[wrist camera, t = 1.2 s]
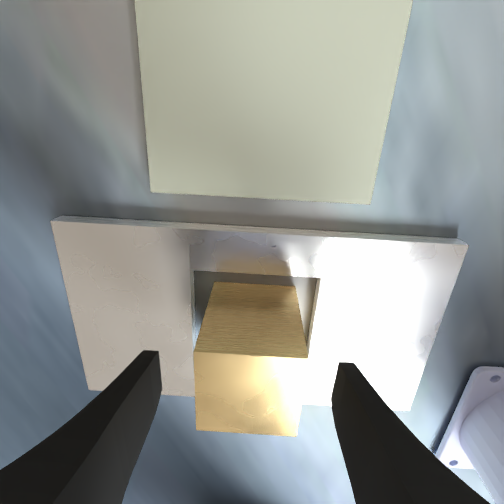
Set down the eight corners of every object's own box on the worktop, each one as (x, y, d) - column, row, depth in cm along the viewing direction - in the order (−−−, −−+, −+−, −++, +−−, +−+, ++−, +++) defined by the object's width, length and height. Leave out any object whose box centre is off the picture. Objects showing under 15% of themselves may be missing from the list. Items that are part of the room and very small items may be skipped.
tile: (421, -83, 10) (434, -100, 9) (364, 199, 13) (370, 204, 12) (135, -96, 10) (124, -114, 9) (156, 188, 13) (150, 192, 13)
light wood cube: (295, 285, 15) (308, 358, 11) (287, 349, 17) (296, 436, 12) (214, 281, 15) (193, 351, 11) (214, 345, 17) (196, 430, 12)
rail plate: (457, 238, 14) (468, 245, 13) (402, 398, 18) (408, 410, 17) (61, 215, 14) (50, 220, 13) (95, 378, 18) (88, 389, 17)
